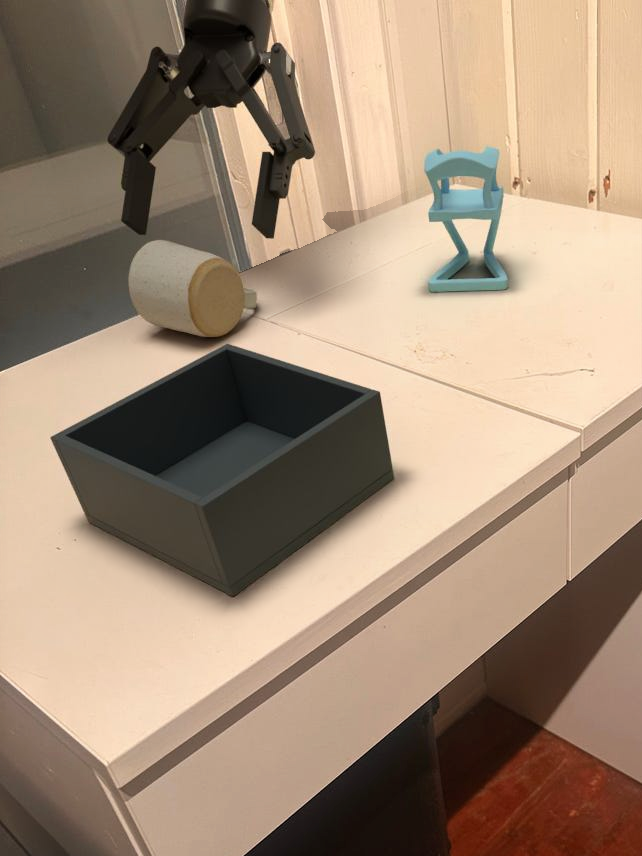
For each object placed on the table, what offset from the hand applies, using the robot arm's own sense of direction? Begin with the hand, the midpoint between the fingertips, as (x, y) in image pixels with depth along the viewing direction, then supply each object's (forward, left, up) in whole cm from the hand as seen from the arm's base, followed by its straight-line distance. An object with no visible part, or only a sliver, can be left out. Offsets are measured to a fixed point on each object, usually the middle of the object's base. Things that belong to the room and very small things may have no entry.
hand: (196, 230), depth 84 cm
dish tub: (+27, -21, -8) cm, 35 cm away
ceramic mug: (+1, -2, -8) cm, 8 cm away
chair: (+17, +19, -8) cm, 27 cm away
